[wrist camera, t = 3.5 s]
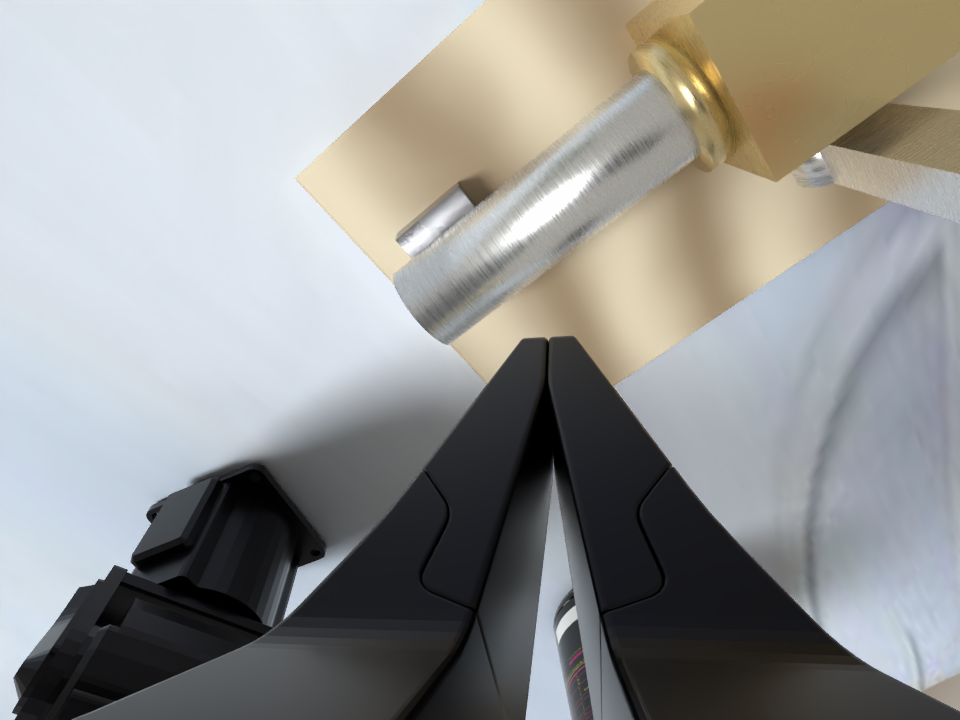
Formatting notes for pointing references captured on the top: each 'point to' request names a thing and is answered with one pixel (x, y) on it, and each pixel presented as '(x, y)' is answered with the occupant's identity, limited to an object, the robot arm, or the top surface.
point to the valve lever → (896, 159)
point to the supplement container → (572, 659)
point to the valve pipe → (673, 133)
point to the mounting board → (529, 131)
